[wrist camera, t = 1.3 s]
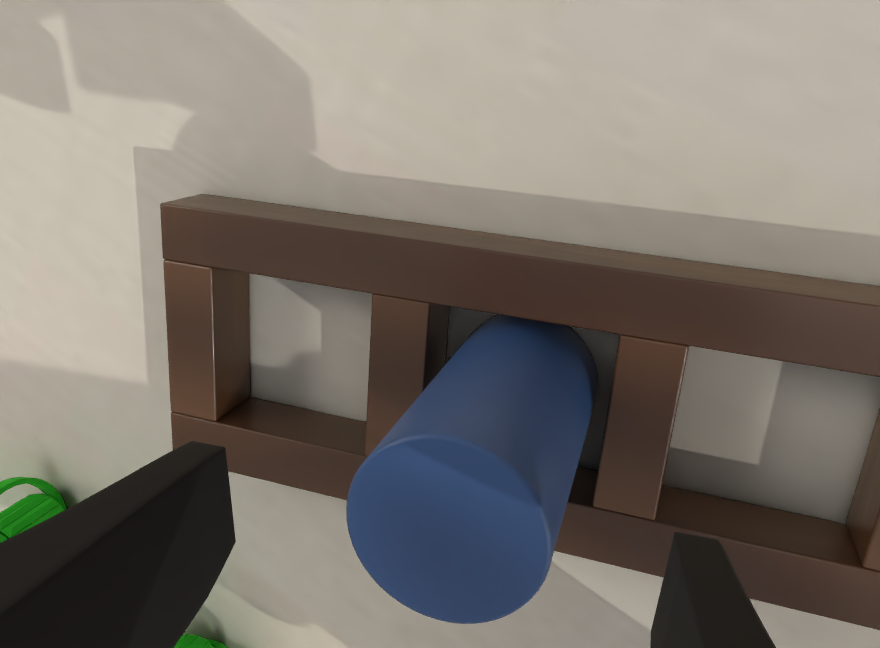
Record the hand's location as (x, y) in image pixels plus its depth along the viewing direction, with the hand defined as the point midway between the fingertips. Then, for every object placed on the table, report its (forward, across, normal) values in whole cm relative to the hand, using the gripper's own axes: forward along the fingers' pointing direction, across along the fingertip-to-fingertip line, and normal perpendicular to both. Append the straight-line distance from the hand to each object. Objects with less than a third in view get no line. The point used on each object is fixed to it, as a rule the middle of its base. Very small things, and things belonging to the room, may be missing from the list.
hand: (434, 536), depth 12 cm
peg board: (+10, 0, +2) cm, 10 cm away
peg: (+10, 0, +2) cm, 10 cm away
